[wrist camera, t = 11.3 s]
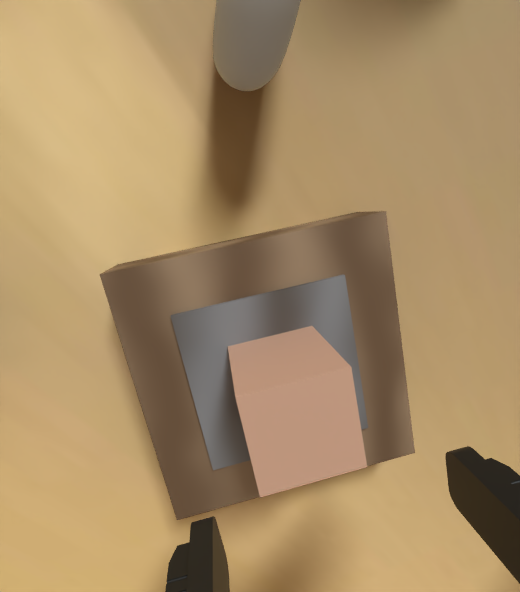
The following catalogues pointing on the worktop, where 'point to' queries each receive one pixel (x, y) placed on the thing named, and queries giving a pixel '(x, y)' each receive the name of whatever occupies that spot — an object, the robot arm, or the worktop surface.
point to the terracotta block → (296, 409)
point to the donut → (251, 39)
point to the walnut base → (250, 326)
